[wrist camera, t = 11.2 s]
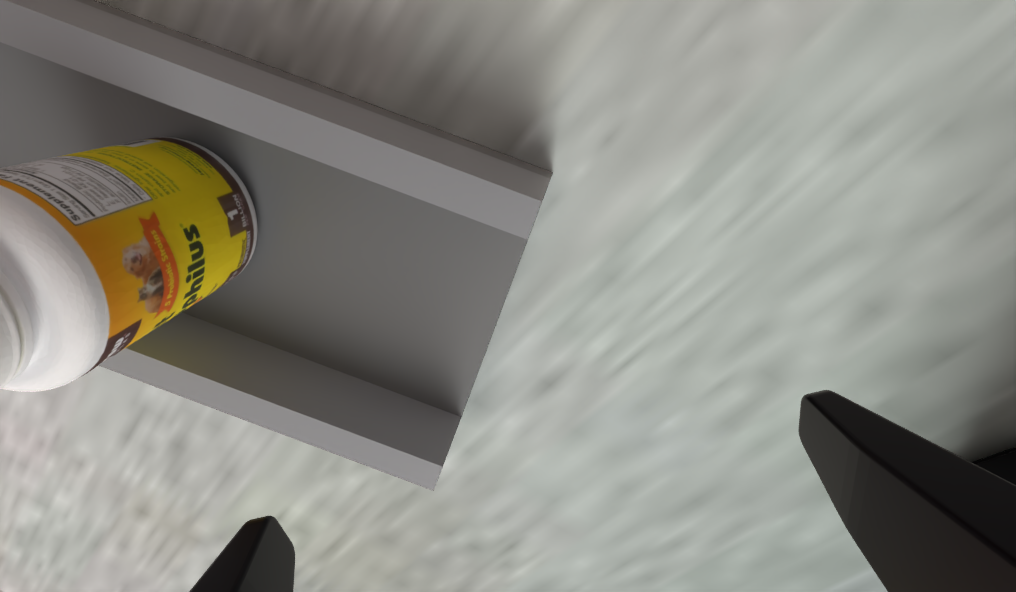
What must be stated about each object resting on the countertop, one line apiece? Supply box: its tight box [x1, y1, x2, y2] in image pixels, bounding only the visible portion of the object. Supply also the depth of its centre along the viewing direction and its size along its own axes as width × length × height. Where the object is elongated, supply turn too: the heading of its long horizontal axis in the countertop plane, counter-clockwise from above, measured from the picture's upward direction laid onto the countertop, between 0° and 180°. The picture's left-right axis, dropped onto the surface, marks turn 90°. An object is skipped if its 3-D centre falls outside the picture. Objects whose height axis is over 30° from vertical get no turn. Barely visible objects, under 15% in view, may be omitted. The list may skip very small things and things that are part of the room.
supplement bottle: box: [0, 137, 258, 392], centre depth 17 cm, size 6×6×10 cm
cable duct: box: [0, 0, 553, 491], centre depth 20 cm, size 24×11×4 cm, turn 71°
